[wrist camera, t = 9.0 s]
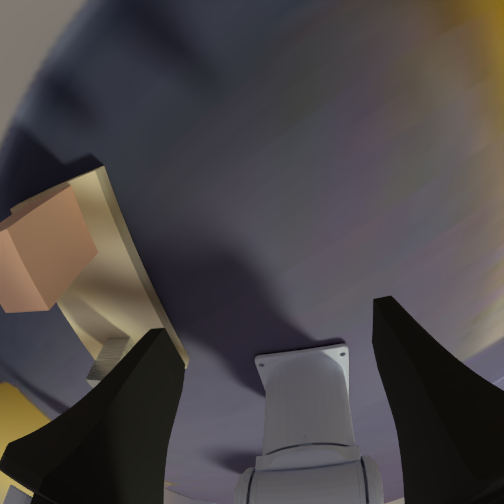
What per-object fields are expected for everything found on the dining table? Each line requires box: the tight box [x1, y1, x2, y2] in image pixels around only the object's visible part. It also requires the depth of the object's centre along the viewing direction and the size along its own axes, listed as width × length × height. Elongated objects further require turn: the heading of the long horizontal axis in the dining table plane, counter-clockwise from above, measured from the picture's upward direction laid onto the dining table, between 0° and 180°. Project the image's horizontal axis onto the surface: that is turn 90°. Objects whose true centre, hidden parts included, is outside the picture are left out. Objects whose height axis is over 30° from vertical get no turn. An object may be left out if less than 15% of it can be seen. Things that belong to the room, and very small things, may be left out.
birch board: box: [10, 166, 190, 368], centre depth 22 cm, size 18×10×1 cm, turn 13°
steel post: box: [86, 337, 135, 388], centre depth 23 cm, size 3×3×5 cm
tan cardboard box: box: [0, 186, 98, 313], centre depth 16 cm, size 5×5×7 cm
